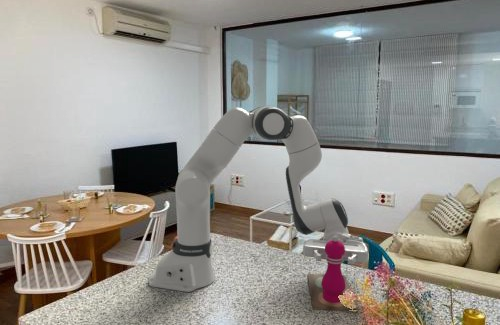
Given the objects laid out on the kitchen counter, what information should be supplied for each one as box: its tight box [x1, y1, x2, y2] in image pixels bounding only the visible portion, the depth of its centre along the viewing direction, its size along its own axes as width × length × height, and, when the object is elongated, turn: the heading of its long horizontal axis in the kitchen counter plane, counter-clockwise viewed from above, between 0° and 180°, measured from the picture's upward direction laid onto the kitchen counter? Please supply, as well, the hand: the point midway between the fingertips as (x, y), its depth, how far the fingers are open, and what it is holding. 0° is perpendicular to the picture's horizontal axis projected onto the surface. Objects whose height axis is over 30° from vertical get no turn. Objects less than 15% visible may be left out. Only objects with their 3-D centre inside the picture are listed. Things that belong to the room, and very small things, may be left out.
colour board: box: [306, 273, 358, 312], centre depth 121 cm, size 13×22×1 cm, turn 175°
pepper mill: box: [321, 236, 345, 303], centre depth 113 cm, size 7×7×20 cm
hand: (334, 260), depth 112 cm, fingers open, 8 cm apart
